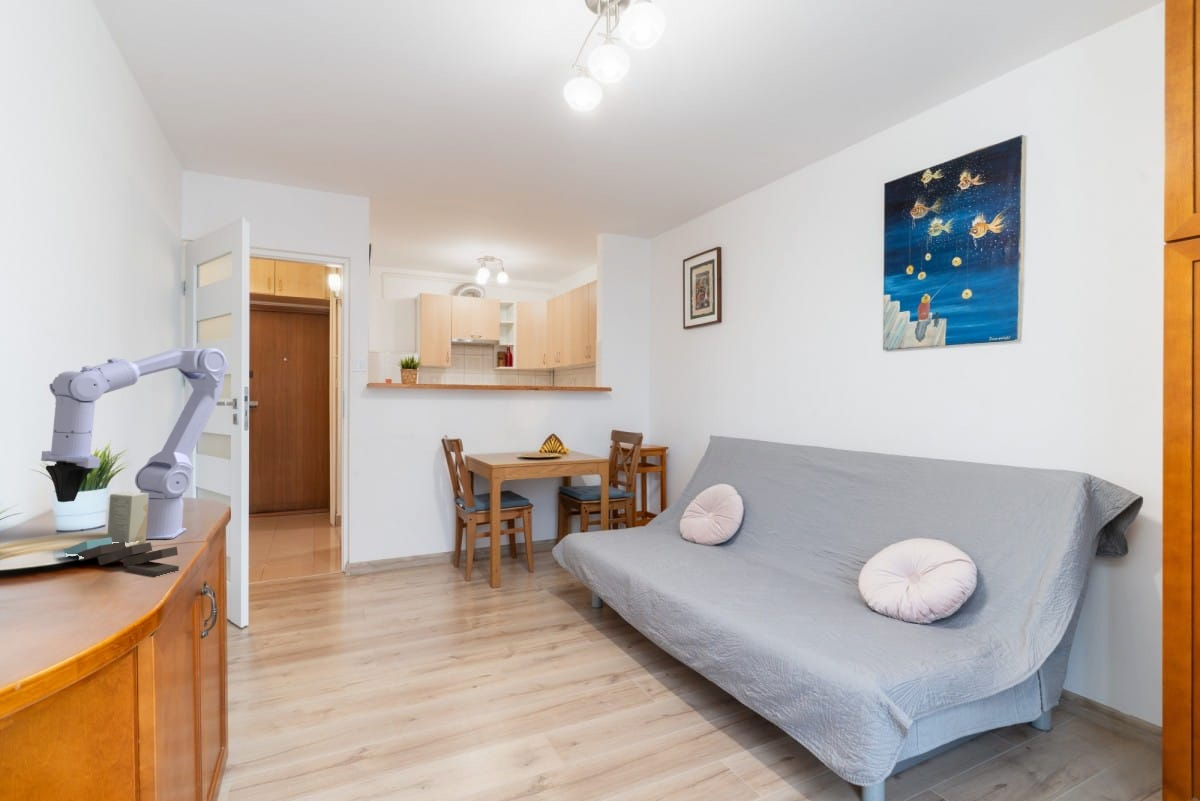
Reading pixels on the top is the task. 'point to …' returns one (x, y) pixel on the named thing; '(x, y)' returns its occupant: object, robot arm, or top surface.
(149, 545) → the tile
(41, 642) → the top surface
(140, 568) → the tile
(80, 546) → the lead tile
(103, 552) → the tile
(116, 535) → the box
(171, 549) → the tile
